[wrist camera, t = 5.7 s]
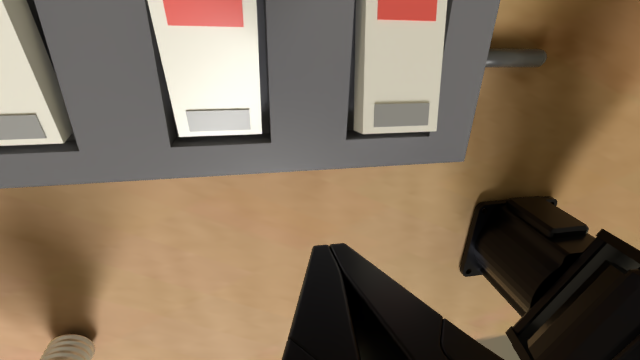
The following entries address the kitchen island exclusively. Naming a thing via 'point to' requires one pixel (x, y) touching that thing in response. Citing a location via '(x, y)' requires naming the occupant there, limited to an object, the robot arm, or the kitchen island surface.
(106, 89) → the rocker switch panel
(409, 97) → the rocker right
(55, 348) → the lightbulb
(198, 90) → the rocker middle
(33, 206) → the kitchen island surface
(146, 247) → the kitchen island surface
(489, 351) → the robot arm
